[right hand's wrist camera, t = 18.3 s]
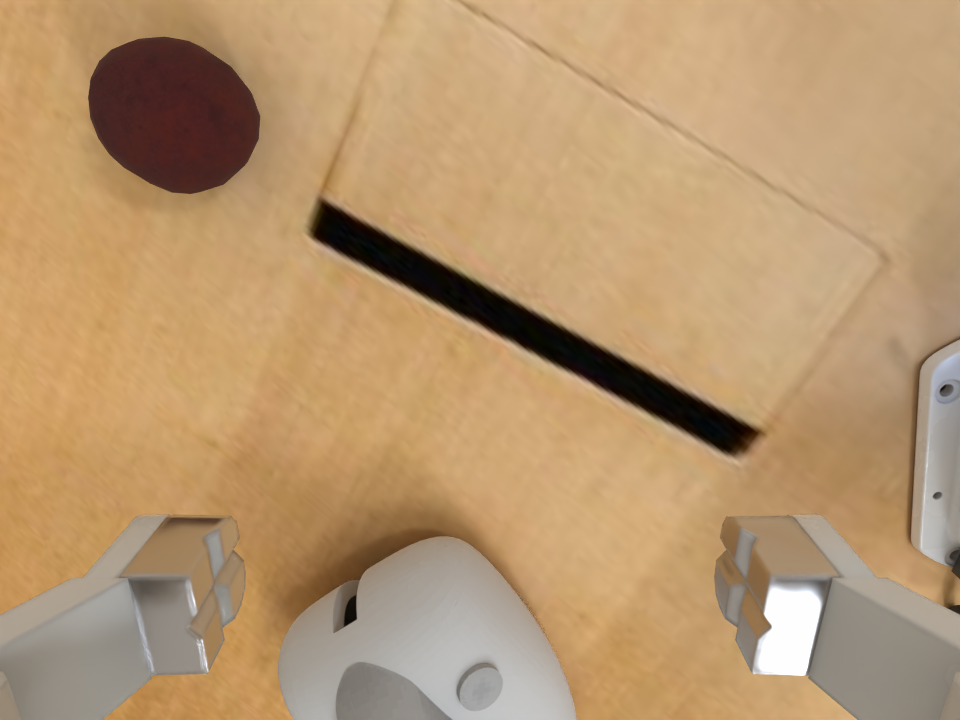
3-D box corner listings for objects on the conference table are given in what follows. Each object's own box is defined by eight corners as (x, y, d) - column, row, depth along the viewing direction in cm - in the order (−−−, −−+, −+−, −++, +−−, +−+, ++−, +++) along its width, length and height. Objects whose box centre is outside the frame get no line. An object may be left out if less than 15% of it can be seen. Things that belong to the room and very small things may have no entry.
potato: (123, 46, 34) (38, 30, 28) (266, 44, 34) (215, 26, 28) (151, 188, 37) (79, 203, 30) (284, 185, 37) (242, 200, 30)
